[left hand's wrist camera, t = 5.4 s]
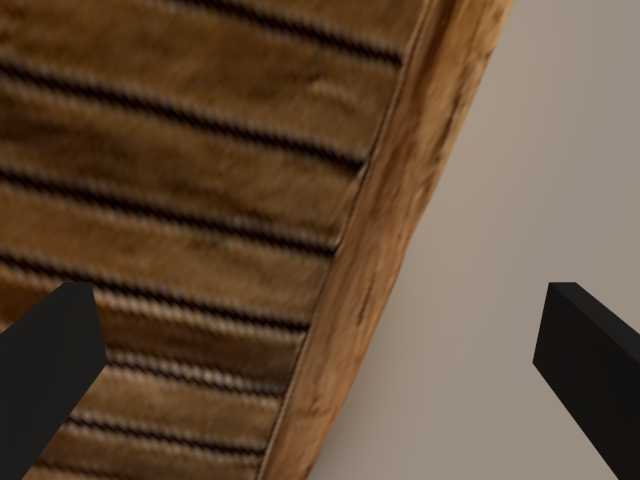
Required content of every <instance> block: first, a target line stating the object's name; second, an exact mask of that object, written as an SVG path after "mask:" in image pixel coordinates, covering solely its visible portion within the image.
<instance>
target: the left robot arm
mask: <svg viewBox="0 0 640 480" xmlns="http://www.w3.org/2000/svg"><path fill="white" fill-rule="evenodd" d="M106 364H107V358H106V353H105V348H104V343H103V338H102V333H101V328H100V324H99V319H98V314H97V309H96V304H95V299H94V294H93V290H92V285H91V282H64V283H63V284H62V285H60V286H59V287H58V288H57V289H56V290H54V291H53V292H52V293H51V294H49V295H48V296H47V297H46V298H44V299H43V300H42V301H41V302H40V303H38V304H37V305H36V306H35V307H33V308H32V309H31V310H30V311H28V312H27V313H26V314H25V315H24V316H22V317H21V318H20V319H19V320H17V321H16V322H15V323H14V324H12V325H11V326H10V327H9V328H8V329H6V330H5V331H4V332H3V333H1V334H0V480H22V478H23V477H24V475H25V474H26V473H27V471H28V470H29V469H30V467H31V466H32V465H33V463H34V462H35V461H36V459H37V458H38V456H39V455H40V454H41V452H42V451H43V450H44V448H45V447H46V446H47V444H48V443H49V442H50V440H51V439H52V437H53V436H54V435H55V433H56V432H57V431H58V429H59V428H60V427H61V425H62V424H63V423H64V421H65V420H66V418H67V417H68V416H69V414H70V413H71V412H72V410H73V409H74V408H75V406H76V405H77V404H78V402H79V401H80V400H81V398H82V397H83V395H84V394H85V393H86V391H87V390H88V389H89V387H90V386H91V385H92V383H93V382H94V381H95V379H96V378H97V376H98V375H99V374H100V372H101V371H102V370H103V368H104V367H105V366H106ZM533 364H534V366H535V367H536V368H537V370H538V371H539V372H540V374H541V375H542V376H543V378H544V379H545V381H546V382H547V383H548V385H549V386H550V387H551V389H552V390H553V391H554V393H555V394H556V395H557V397H558V398H559V400H560V401H561V402H562V403H563V405H564V406H565V408H566V409H567V410H568V412H569V413H570V414H571V416H572V417H573V418H574V420H575V421H576V423H577V424H578V425H579V427H580V428H581V429H582V431H583V432H584V433H585V435H586V436H587V437H588V439H589V440H590V442H591V443H592V444H593V446H594V447H595V448H596V450H597V451H598V452H599V454H600V455H601V456H602V458H603V459H604V460H605V462H606V463H607V465H608V466H609V467H610V469H611V470H612V471H613V473H614V474H615V475H616V477H617V478H618V480H640V334H639V333H637V332H636V331H635V330H634V329H632V328H631V327H630V326H629V325H628V324H626V323H625V322H624V321H623V320H621V319H620V318H619V317H618V316H616V315H615V314H614V313H613V312H612V311H610V310H609V309H608V308H607V307H605V306H604V305H603V304H602V303H600V302H599V301H598V300H597V299H596V298H594V297H593V296H592V295H591V294H589V293H588V292H587V291H586V290H584V289H583V288H582V287H581V286H579V285H578V284H577V283H576V282H549V285H548V290H547V294H546V299H545V304H544V309H543V314H542V319H541V324H540V328H539V333H538V338H537V343H536V348H535V353H534V358H533Z"/></svg>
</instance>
